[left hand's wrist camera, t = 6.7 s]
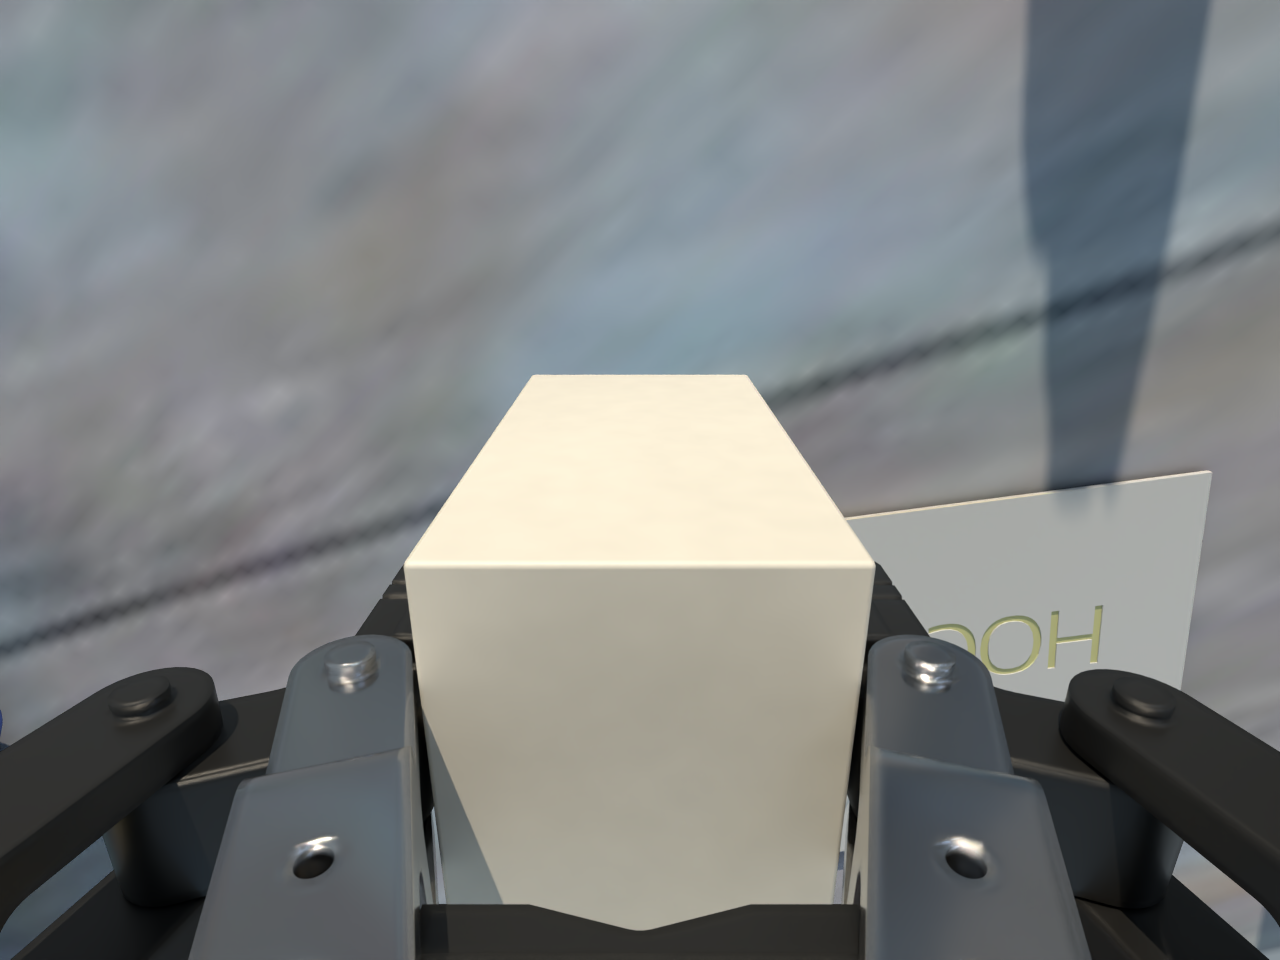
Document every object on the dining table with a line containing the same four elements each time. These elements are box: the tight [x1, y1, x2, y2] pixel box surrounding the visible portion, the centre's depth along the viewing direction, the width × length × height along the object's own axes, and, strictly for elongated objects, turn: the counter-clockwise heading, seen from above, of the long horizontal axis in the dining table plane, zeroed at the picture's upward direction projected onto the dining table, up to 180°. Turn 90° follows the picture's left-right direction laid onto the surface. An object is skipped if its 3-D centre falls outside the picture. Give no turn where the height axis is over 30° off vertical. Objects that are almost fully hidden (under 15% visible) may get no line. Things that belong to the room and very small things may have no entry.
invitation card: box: [840, 470, 1212, 851], centre depth 27 cm, size 21×1×15 cm
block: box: [404, 375, 876, 930], centre depth 12 cm, size 4×5×9 cm
